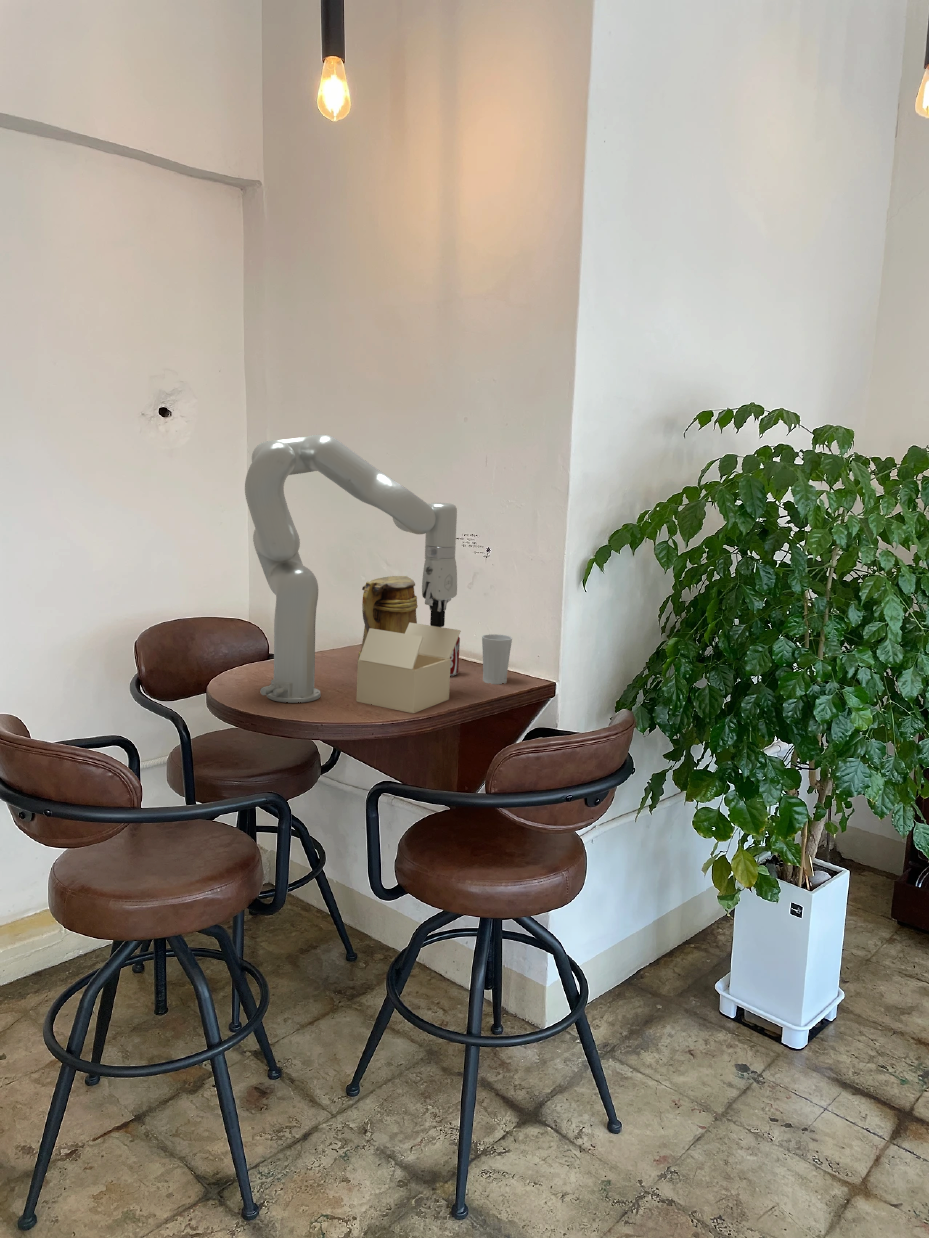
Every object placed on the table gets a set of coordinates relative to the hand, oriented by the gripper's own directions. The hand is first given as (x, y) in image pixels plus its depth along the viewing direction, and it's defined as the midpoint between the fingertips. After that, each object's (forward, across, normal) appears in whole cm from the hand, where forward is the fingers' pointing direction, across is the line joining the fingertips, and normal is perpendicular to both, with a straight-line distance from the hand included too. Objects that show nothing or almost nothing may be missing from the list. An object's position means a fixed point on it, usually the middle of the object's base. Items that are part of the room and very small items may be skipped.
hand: (437, 626), depth 225 cm
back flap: (+3, -4, 0) cm, 5 cm away
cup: (+17, +18, -8) cm, 26 cm away
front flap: (+3, -20, 0) cm, 20 cm away
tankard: (+16, +12, +23) cm, 31 cm away
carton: (+16, -14, 0) cm, 22 cm away
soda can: (+17, +16, +6) cm, 24 cm away
